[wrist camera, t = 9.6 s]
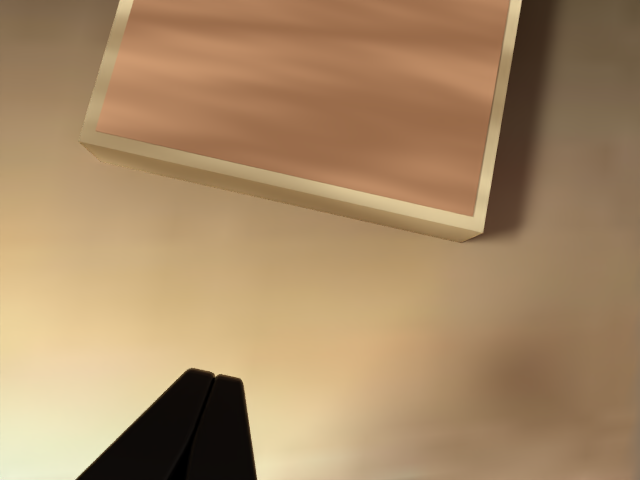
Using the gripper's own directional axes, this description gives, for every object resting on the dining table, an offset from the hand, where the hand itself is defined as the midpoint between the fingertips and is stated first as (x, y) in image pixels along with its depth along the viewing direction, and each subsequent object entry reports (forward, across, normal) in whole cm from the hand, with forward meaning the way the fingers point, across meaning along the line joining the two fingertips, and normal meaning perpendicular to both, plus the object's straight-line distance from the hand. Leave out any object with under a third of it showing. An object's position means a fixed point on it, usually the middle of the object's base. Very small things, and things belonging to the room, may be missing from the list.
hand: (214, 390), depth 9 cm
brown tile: (+9, 0, +2) cm, 10 cm away
